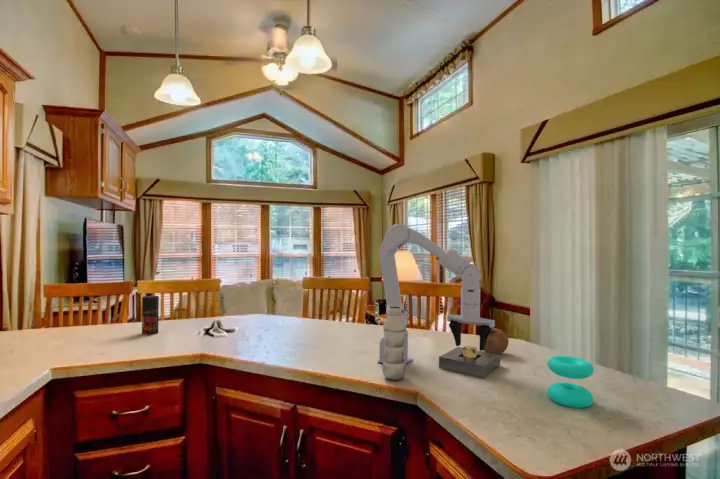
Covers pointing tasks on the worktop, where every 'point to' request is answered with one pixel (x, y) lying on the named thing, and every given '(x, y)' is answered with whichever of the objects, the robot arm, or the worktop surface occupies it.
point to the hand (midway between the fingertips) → (469, 347)
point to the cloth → (216, 329)
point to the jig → (469, 363)
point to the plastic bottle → (394, 345)
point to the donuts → (568, 391)
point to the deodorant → (150, 315)
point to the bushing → (470, 352)
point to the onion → (496, 342)
